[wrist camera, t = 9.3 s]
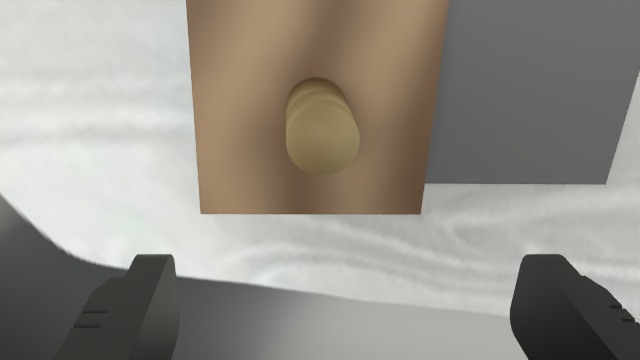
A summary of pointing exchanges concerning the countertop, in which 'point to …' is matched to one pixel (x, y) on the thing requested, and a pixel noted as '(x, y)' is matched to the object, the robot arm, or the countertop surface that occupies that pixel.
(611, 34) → the mat
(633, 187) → the countertop surface
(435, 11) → the lid
